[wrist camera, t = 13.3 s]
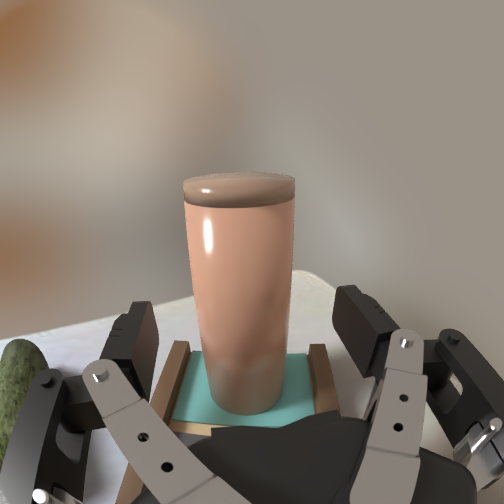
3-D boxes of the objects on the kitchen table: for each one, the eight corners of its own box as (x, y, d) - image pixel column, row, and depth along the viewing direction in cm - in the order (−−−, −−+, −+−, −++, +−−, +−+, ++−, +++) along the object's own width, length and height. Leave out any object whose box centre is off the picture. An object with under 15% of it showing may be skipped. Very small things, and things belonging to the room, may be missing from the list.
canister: (204, 412, 16) (167, 190, 11) (215, 360, 21) (197, 173, 15) (284, 416, 16) (301, 188, 10) (282, 362, 21) (290, 172, 15)
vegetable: (69, 497, 9) (23, 463, 7) (11, 496, 7) (-36, 459, 5) (61, 363, 20) (41, 319, 18) (20, 369, 18) (-3, 328, 16)
